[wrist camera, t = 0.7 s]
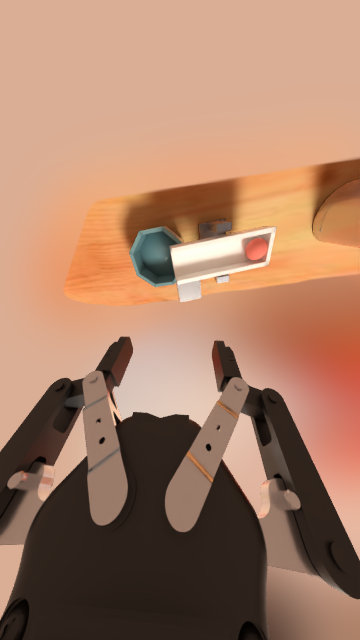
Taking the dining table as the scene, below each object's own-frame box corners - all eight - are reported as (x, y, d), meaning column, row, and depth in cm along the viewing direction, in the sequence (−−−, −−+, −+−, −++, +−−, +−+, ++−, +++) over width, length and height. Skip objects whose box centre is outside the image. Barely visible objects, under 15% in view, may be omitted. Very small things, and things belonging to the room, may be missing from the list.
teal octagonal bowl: (181, 222, 27) (180, 222, 23) (187, 273, 33) (188, 282, 29) (132, 232, 28) (122, 234, 24) (147, 280, 34) (141, 289, 30)
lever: (252, 226, 24) (276, 226, 19) (245, 278, 29) (263, 288, 24) (167, 243, 23) (171, 248, 19) (177, 293, 29) (181, 306, 24)
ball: (262, 235, 21) (274, 237, 19) (259, 256, 23) (269, 260, 21) (243, 239, 22) (252, 241, 19) (241, 259, 23) (249, 263, 21)
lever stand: (224, 218, 27) (243, 218, 18) (223, 264, 32) (237, 280, 23) (198, 223, 27) (205, 225, 19) (201, 267, 32) (208, 285, 24)
